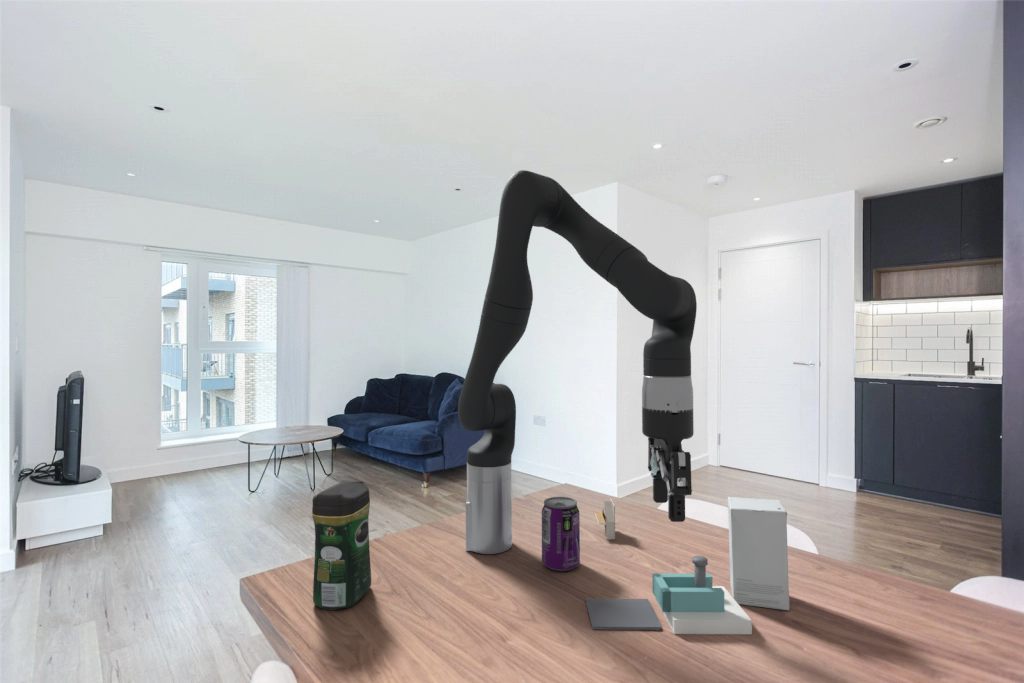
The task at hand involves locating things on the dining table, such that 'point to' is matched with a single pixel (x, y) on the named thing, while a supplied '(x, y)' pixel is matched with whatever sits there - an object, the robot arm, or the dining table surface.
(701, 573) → the stand
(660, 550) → the dining table surface
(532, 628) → the dining table surface
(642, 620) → the felt pad
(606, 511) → the architectural model
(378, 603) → the dining table surface
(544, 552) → the beverage can
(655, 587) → the c link
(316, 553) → the coffee jar
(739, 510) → the skincare box
